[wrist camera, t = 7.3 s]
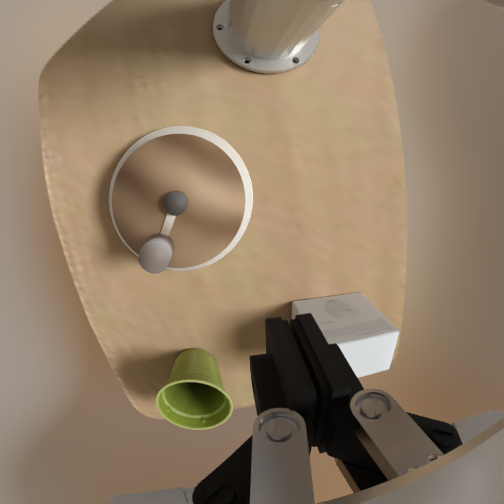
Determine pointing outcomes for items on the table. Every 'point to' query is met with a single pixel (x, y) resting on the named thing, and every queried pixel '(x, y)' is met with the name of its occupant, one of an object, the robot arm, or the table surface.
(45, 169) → the table surface
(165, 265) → the dial
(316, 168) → the table surface
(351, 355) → the skincare box
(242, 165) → the stand
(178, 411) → the plant pot
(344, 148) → the table surface
